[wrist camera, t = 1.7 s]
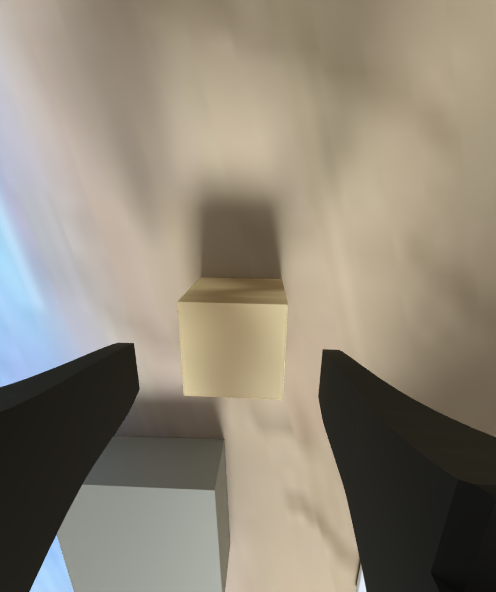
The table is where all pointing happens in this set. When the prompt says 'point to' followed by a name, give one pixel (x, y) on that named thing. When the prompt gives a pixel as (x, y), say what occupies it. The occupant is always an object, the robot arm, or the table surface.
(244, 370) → the oak cube
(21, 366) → the table surface
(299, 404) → the table surface
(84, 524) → the gray block
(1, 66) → the table surface
